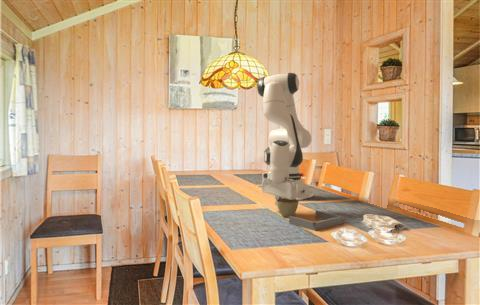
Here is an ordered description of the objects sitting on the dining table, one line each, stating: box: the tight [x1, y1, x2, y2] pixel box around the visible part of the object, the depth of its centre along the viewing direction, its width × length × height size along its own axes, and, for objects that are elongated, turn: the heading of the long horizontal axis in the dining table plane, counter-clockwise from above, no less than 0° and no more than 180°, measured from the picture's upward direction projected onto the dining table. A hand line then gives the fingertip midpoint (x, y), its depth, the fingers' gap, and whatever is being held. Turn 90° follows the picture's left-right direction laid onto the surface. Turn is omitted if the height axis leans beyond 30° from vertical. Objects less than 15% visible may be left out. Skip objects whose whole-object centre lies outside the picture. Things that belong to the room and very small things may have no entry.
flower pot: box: [275, 198, 300, 218], centre depth 175 cm, size 10×10×7 cm
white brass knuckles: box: [360, 213, 406, 231], centre depth 158 cm, size 3×18×15 cm
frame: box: [288, 210, 344, 231], centre depth 162 cm, size 18×14×3 cm
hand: (278, 205), depth 179 cm, fingers closed, pressing on flower pot
